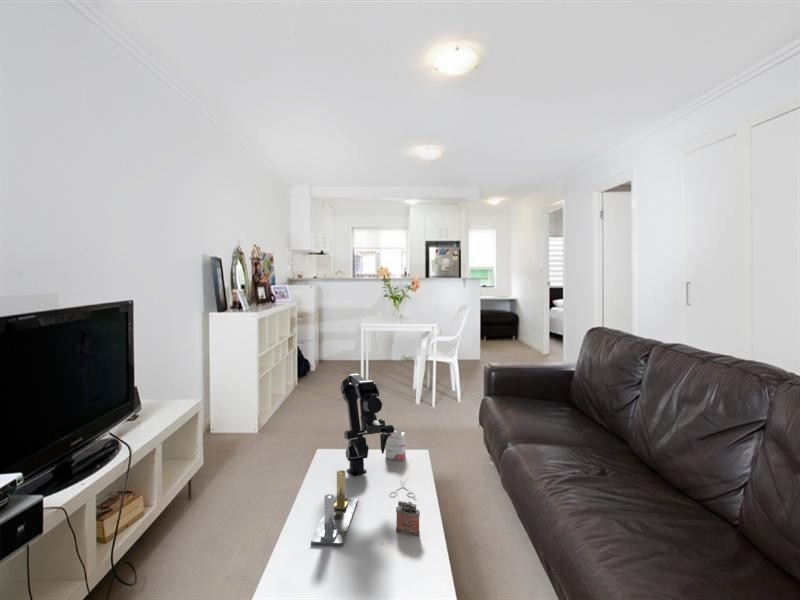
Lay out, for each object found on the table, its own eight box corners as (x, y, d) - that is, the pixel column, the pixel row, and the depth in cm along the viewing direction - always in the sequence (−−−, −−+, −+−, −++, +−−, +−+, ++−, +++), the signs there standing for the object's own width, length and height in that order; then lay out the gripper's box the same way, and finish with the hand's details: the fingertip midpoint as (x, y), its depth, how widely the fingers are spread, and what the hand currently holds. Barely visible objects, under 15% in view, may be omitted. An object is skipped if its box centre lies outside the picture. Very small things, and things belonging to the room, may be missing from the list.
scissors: (388, 498, 147) (392, 472, 167) (388, 500, 147) (392, 474, 167) (416, 499, 146) (416, 473, 166) (416, 501, 146) (416, 475, 166)
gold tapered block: (336, 502, 141) (336, 469, 141) (348, 503, 141) (348, 470, 140) (333, 508, 138) (333, 474, 137) (345, 509, 137) (345, 475, 137)
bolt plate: (331, 500, 146) (331, 463, 145) (357, 501, 145) (357, 465, 144) (310, 545, 121) (310, 501, 120) (342, 547, 120) (342, 502, 119)
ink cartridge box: (405, 456, 183) (406, 426, 182) (401, 461, 178) (402, 429, 178) (389, 453, 186) (389, 423, 186) (385, 457, 182) (385, 427, 181)
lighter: (420, 531, 128) (421, 502, 127) (417, 538, 124) (418, 507, 124) (397, 526, 130) (398, 497, 130) (394, 532, 127) (394, 503, 127)
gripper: (349, 416, 141) (352, 461, 137) (397, 410, 147) (401, 453, 144) (342, 415, 151) (345, 458, 147) (387, 410, 157) (391, 451, 154)
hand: (371, 455), depth 148 cm, fingers open, 9 cm apart
